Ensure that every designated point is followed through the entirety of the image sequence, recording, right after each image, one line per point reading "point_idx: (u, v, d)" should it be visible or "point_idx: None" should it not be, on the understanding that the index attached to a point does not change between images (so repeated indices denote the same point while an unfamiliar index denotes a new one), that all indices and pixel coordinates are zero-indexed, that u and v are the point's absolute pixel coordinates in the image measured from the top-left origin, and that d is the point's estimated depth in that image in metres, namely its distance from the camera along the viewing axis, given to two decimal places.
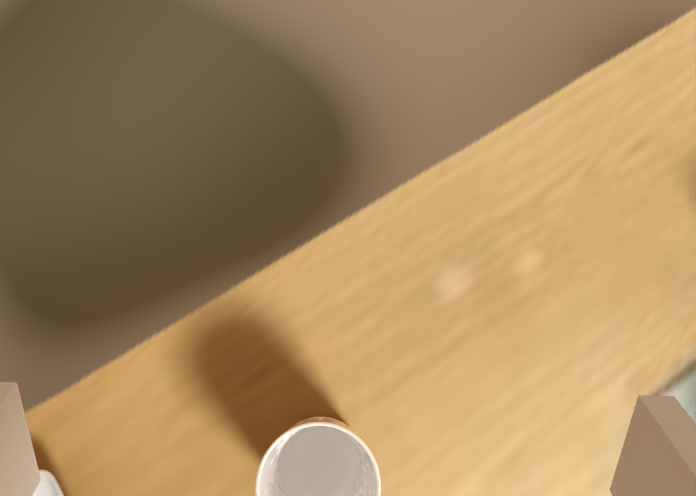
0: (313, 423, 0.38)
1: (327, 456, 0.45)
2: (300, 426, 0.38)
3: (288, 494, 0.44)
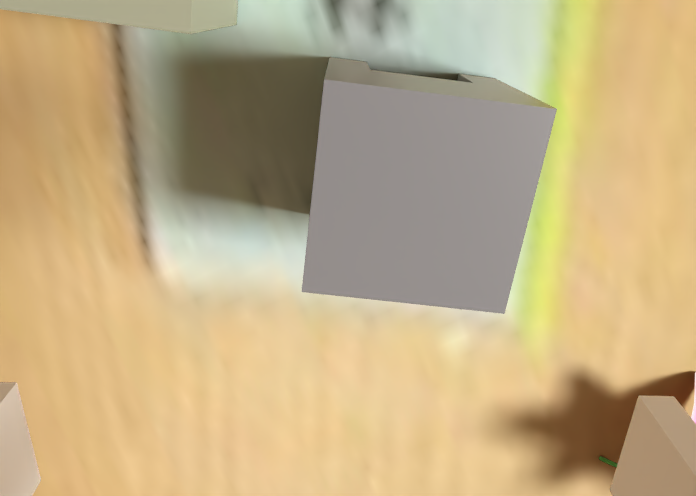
0: None
1: None
2: None
3: None
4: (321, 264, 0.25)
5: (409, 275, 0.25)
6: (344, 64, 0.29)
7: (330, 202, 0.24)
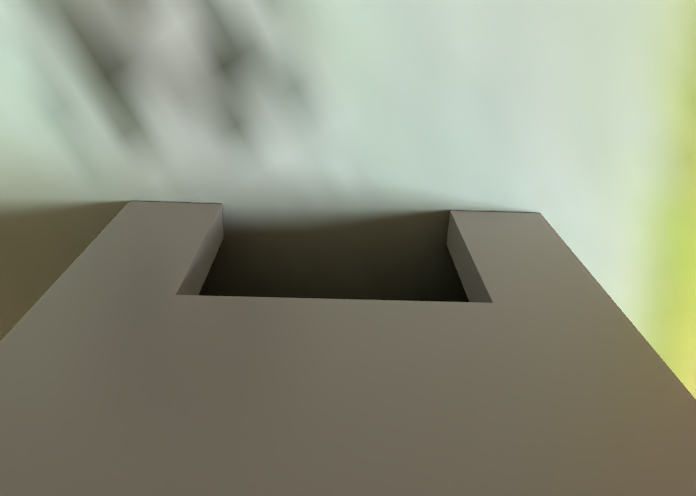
0: None
1: None
2: None
3: None
4: None
5: None
6: (117, 265, 0.10)
7: None
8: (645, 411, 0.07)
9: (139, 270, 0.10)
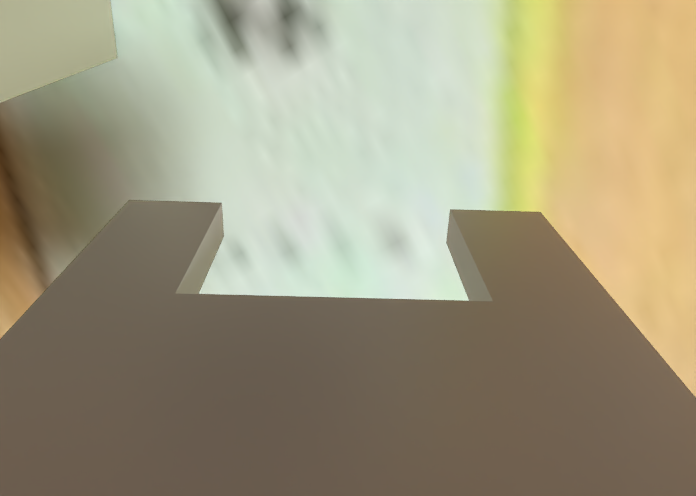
0: None
1: None
2: None
3: None
4: None
5: None
6: (117, 264, 0.10)
7: None
8: (645, 409, 0.07)
9: (139, 269, 0.10)
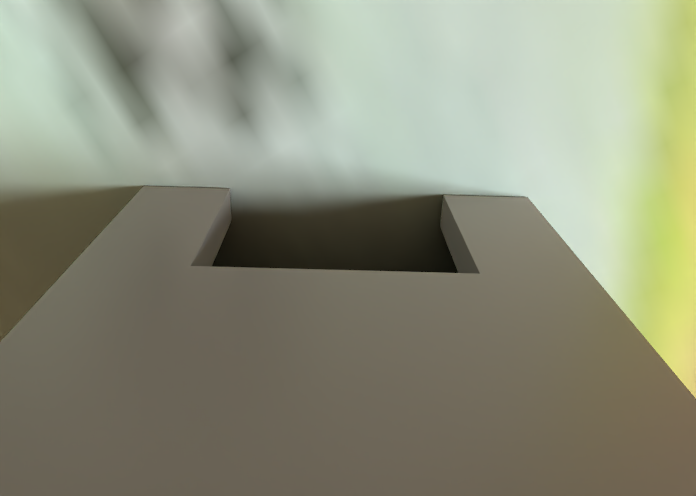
0: None
1: None
2: None
3: None
4: None
5: None
6: (136, 241, 0.11)
7: None
8: (611, 361, 0.08)
9: (156, 245, 0.11)
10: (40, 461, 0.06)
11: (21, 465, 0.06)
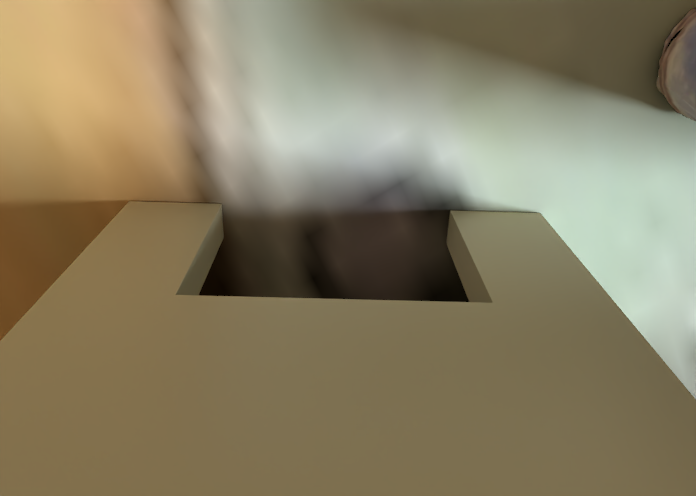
0: None
1: None
2: None
3: None
4: None
5: None
6: None
7: None
8: None
9: None
10: None
11: None
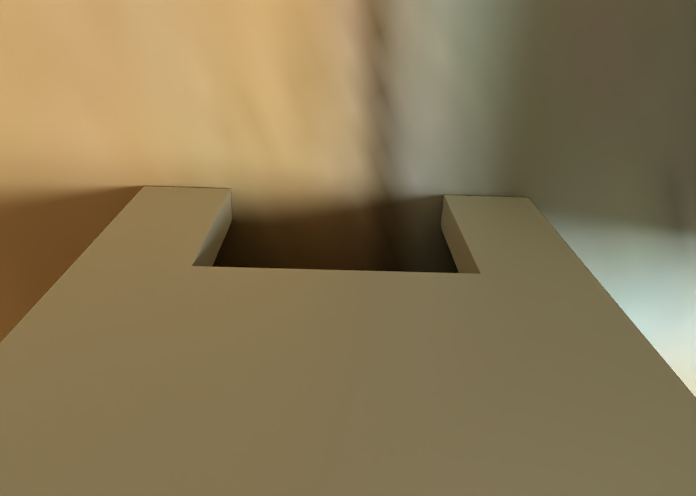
0: None
1: None
2: None
3: None
4: None
5: None
6: None
7: None
8: None
9: None
10: None
11: None
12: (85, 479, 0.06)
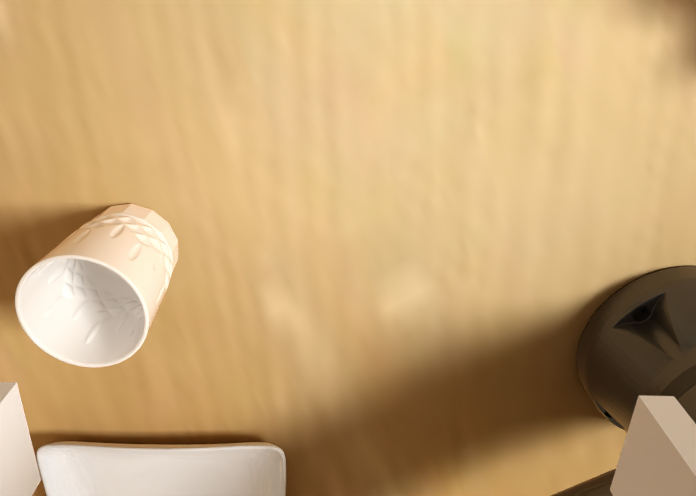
0: (17, 291, 0.35)
1: None
2: (16, 302, 0.35)
3: (137, 297, 0.43)
4: None
5: None
6: None
7: None
8: None
9: None
10: None
11: None
12: None
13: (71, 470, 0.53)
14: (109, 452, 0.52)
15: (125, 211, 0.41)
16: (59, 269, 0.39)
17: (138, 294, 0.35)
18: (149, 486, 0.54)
